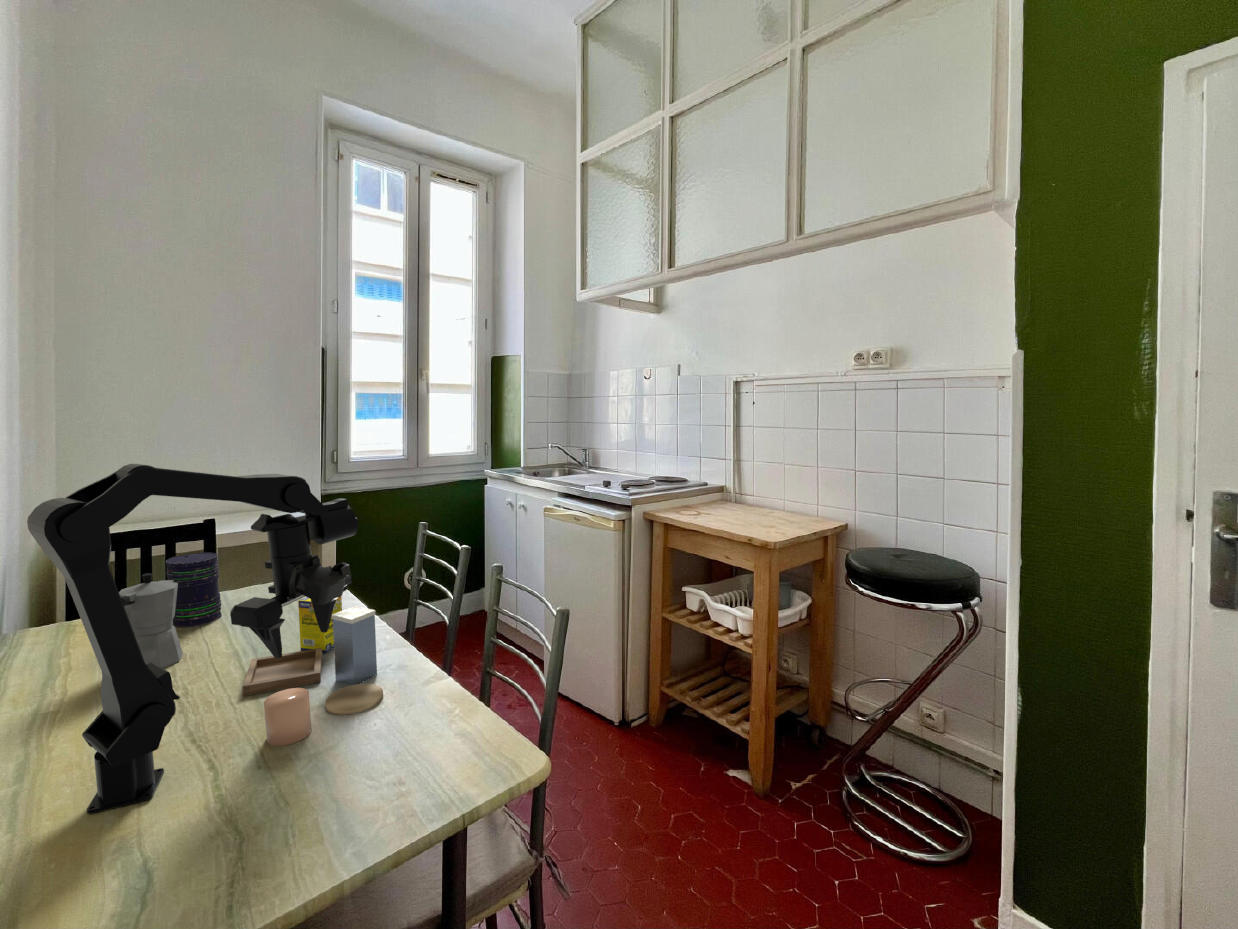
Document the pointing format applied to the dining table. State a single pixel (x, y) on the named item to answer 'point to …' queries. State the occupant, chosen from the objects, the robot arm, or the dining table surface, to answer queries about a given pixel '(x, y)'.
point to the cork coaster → (354, 699)
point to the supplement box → (315, 627)
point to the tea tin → (354, 645)
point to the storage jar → (195, 588)
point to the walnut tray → (283, 671)
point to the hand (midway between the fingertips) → (302, 644)
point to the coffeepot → (154, 619)
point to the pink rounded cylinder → (287, 716)
